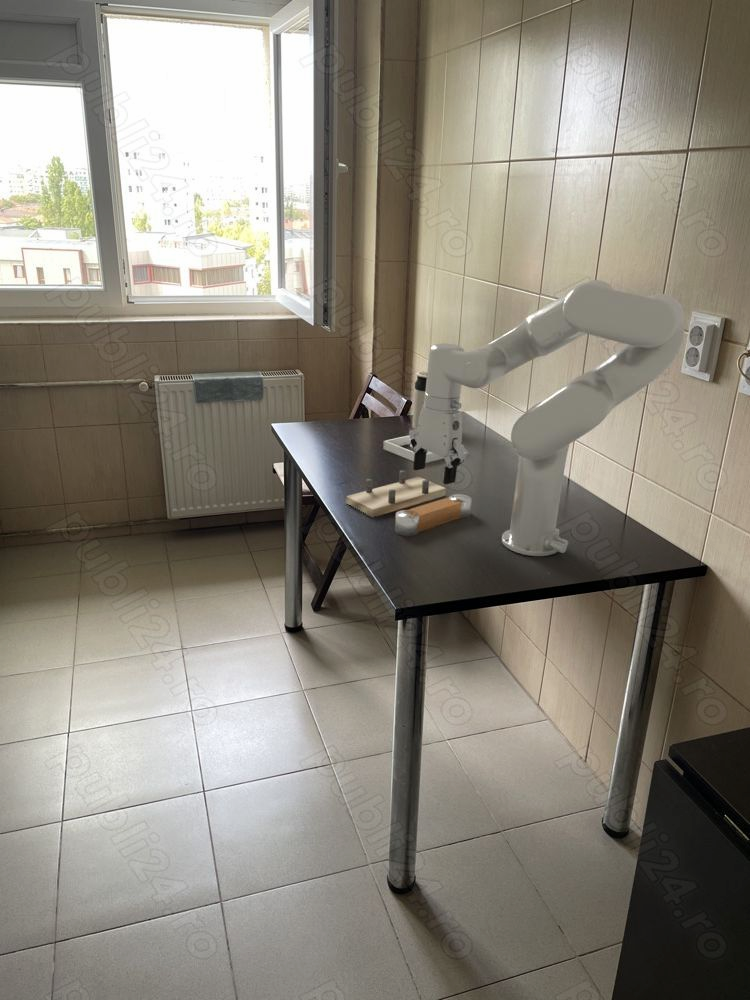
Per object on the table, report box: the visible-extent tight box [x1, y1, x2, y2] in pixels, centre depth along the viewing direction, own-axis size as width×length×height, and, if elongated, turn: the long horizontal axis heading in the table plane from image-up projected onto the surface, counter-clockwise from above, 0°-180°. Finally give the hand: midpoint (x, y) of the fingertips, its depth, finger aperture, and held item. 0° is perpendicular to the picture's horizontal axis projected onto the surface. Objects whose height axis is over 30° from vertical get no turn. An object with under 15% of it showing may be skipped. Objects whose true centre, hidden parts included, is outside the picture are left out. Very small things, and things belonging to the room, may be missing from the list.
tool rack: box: [345, 470, 447, 518], centre depth 179 cm, size 10×24×5 cm, turn 130°
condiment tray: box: [382, 434, 465, 464], centre depth 216 cm, size 16×17×2 cm
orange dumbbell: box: [394, 493, 472, 537], centre depth 168 cm, size 5×22×4 cm, turn 130°
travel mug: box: [411, 370, 428, 429], centre depth 235 cm, size 8×8×18 cm
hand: (433, 475), depth 165 cm, fingers open, 9 cm apart
